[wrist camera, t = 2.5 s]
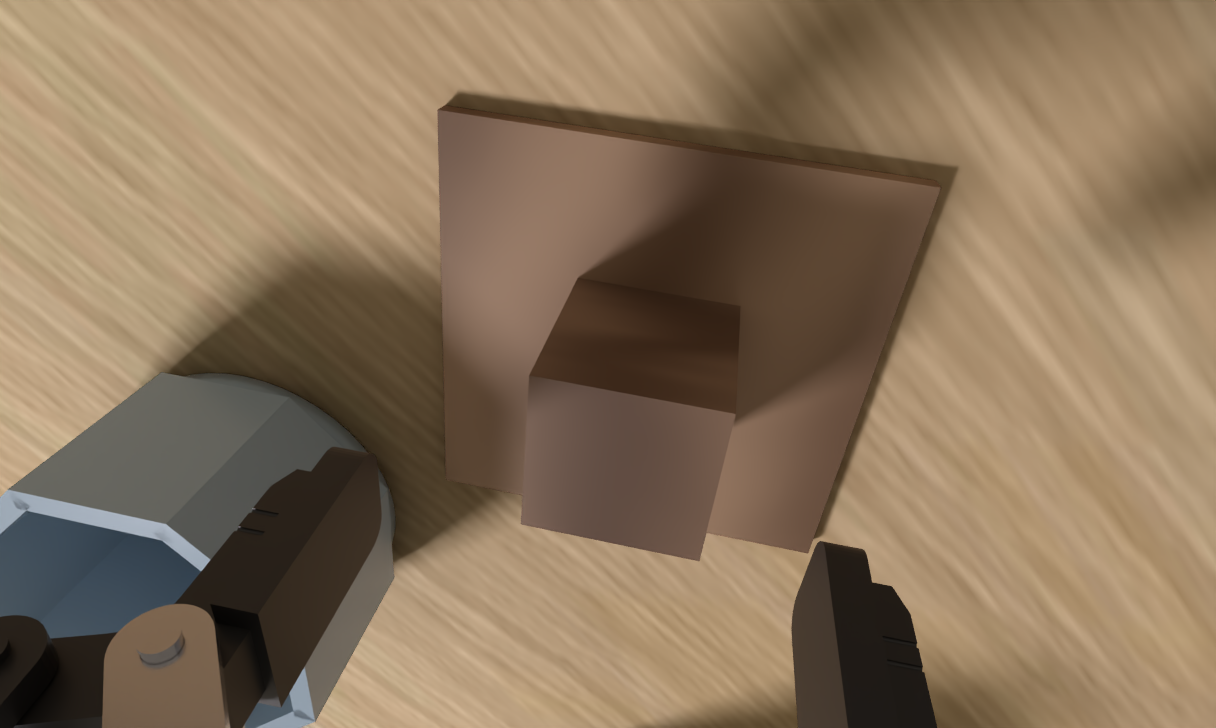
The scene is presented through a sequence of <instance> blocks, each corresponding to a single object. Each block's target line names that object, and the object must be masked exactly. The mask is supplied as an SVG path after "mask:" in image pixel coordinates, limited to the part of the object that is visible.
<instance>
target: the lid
mask: <svg viewBox="0 0 1216 728" xmlns="http://www.w3.org/2000/svg"><path fill="white" fill-rule="evenodd" d="M438 151H439V195H440V240H441V285H442V329H443V374H444V419H445V463H446V480H450V481H455V482H460V483H465V484H470V485H474V486H479V487H484V488H489V489H494V490H499V491H504V492H509V493H514V494H519V495H523V496H522V515H521V524H522V525H527V526H532V527H537V528H542V529H546V530H551V531H556V532H561V533H566V534H570V535H575V536H580V537H585V538H590V539H595V540H599V541H604V542H609V543H614V544H619V545H624V546H628V547H633V548H638V549H643V550H648V551H652V552H657V553H662V554H667V555H672V556H677V557H681V558H686V559H691V560H696V561H699V560H700V556H701V552H702V548H703V544H704V540H705V536H706V533H710V534H715V535H720V536H725V537H730V538H735V539H740V540H745V541H750V542H755V543H759V544H764V545H769V546H774V547H779V548H784V549H789V550H794V551H799V552H804V553H808V552H809V549H810V547H811V544H812V541H813V538H814V536H815V533H816V530H817V527H818V525H819V522H820V519H821V516H822V514H823V511H824V508H825V505H826V503H827V500H828V497H829V494H830V492H831V489H832V486H833V483H834V481H835V478H836V475H837V472H838V470H839V467H840V464H841V461H842V459H843V456H844V453H845V450H846V448H847V445H848V442H849V439H850V437H851V434H852V431H853V428H854V426H855V423H856V420H857V417H858V415H859V412H860V409H861V407H862V404H863V401H864V398H865V396H866V393H867V390H868V387H869V385H870V382H871V379H872V376H873V374H874V371H875V368H876V365H877V363H878V360H879V357H880V354H881V352H882V349H883V346H884V343H885V341H886V338H887V335H888V332H889V330H890V327H891V324H892V321H893V319H894V316H895V313H896V310H897V308H898V305H899V302H900V299H901V297H902V294H903V291H904V288H905V286H906V283H907V280H908V277H909V275H910V272H911V269H912V267H913V264H914V261H915V258H916V256H917V253H918V250H919V247H920V245H921V242H922V239H923V236H924V234H925V231H926V228H927V225H928V223H929V220H930V217H931V214H932V212H933V209H934V206H935V203H936V201H937V198H938V195H939V192H940V190H941V187H940V185H939V184H938V183H937V181H935V180H928V179H922V178H915V177H909V176H902V175H896V174H889V173H883V172H876V171H870V170H863V169H857V168H850V167H844V166H837V165H831V164H824V163H818V162H811V161H805V160H798V159H792V158H785V157H779V156H772V155H766V154H759V153H753V152H746V151H740V150H733V149H726V148H720V147H713V146H707V145H700V144H694V143H687V142H681V141H674V140H668V139H661V138H655V137H648V136H642V135H635V134H629V133H622V132H616V131H609V130H603V129H596V128H590V127H583V126H577V125H570V124H564V123H557V122H551V121H544V120H538V119H531V118H525V117H518V116H512V115H505V114H499V113H492V112H486V111H479V110H473V109H466V108H459V107H453V106H446V105H445V106H443V107H442V108H440V109H438Z"/></svg>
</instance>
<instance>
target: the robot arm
mask: <svg viewBox="0 0 1216 728" xmlns="http://www.w3.org/2000/svg"><path fill="white" fill-rule="evenodd" d="M381 520H382V510H381V499H380V487H379V476H378V465H377V459H376V457H375V455H374V454H371V453H366V452H360V451H355V450H350V449H345V448H339V447H331V448H330V449H328V450H327V451H326V452H325V454H324V455H323V456H322V458H321V459H320V460H319V462H318V463H317V464H316V466H315V467H314V468H313V469H312V471H311V472H310V471H305V470H300V469H296V470H295V471H293V472H292V473H290V474H289V475H287V476H286V477H284V478H282V479H281V480H279V481H278V482H276V483H275V484H273V485H272V486H270V487H269V489H268V490H267V491H266V492H265V494H264V495H263V496H262V497H261V499H260V500H259V501H258V502H257V503H256V505H255V506H254V507H253V510H252V512H251V513H248V515H247V516H246V517H245V518H244V519H243V521H242V522H241V523H240V524H239V526H238V529H237V531H234V532H233V533H232V534H231V535H230V537H229V538H228V539H227V540H226V542H225V543H224V544H223V545H222V546H221V548H220V549H219V550H218V551H217V553H216V554H215V555H214V556H213V558H212V559H211V560H210V561H209V562H208V564H207V565H206V566H205V567H204V569H203V570H202V571H201V572H200V574H199V575H198V576H197V577H196V578H195V580H194V581H193V582H192V583H191V585H190V586H189V587H188V588H187V589H186V591H185V592H184V593H183V594H182V596H181V597H180V598H179V599H178V600H177V601H176V602H175V603H174V604H172V605H166V606H162V607H158V608H155V609H152V610H150V611H148V612H145V613H143V614H141V615H139V616H138V617H136V618H134V619H133V620H132V621H130V622H129V623H128V624H126V625H125V626H124V627H123V628H122V629H121V630H120V631H119V632H115V633H107V634H96V635H85V636H73V637H62V638H50V636H49V635H48V633H47V631H46V629H45V627H44V625H43V624H42V623H41V622H39V621H38V620H36V619H34V618H32V617H28V616H21V615H10V616H2V617H0V728H245V723H246V721H247V720H248V718H249V716H250V715H251V713H252V711H253V710H254V708H255V706H256V705H257V703H262V704H266V705H271V706H275V707H280V708H281V707H282V705H283V704H284V702H285V700H286V698H287V697H288V695H289V693H290V691H291V690H292V688H293V686H294V684H295V683H296V681H297V679H298V677H299V676H300V674H301V672H302V671H303V669H304V667H305V665H306V664H307V662H308V660H309V658H310V657H311V655H312V653H313V651H314V650H315V648H316V646H317V644H318V643H319V641H320V639H321V638H322V636H323V634H324V632H325V631H326V629H327V627H328V625H329V624H330V622H331V620H332V618H333V617H334V615H335V613H336V611H337V610H338V608H339V606H340V605H341V603H342V601H343V599H344V598H345V596H346V594H347V592H348V591H349V589H350V587H351V585H352V584H353V582H354V580H355V578H356V577H357V575H358V573H359V571H360V570H361V568H362V566H363V565H364V563H365V561H366V559H367V558H368V556H369V554H370V552H371V551H372V549H373V547H374V545H375V543H376V540H377V537H378V534H379V531H380V526H381ZM916 645H917V640H916V636H915V632H914V628H913V623H912V619H911V615H910V613H909V611H908V610H907V608H906V607H905V605H904V604H903V602H902V601H901V599H900V598H899V596H898V595H897V593H896V592H895V590H894V589H893V587H892V586H887V585H882V584H877V583H872V580H871V574H870V569H869V564H868V559H867V555H866V553H865V551H864V550H863V549H859V548H853V547H848V546H843V545H838V544H833V543H827V542H822V541H820V542H818V544H817V545H816V547H815V549H814V552H813V555H812V557H811V560H810V563H809V565H808V568H807V570H806V573H805V576H804V578H803V581H802V583H801V586H800V589H799V591H798V594H797V597H796V600H795V604H794V609H793V616H792V646H793V660H794V675H795V690H796V704H797V719H798V728H937V724H936V720H935V716H934V712H933V708H932V703H931V699H930V695H929V691H928V687H927V682H926V678H925V674H924V672H922V667H923V665H922V661H921V657H920V653H919V649H918V648H917V647H916Z"/></svg>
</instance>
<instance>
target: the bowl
mask: <svg viewBox="0 0 1216 728" xmlns="http://www.w3.org/2000/svg"><path fill="white" fill-rule="evenodd" d="M331 447H339V448H345V449H350V450H355V451H360V452H366V453H367V451H366V450H365V449H364V447H363V446H362V445H361V444H360V443H359V442H358V441H357V440H356V439H355V438H354V437H353V436H352V435H351V434H350V433H349V432H348V431H347V430H346V429H345V428H344V427H343V426H342V425H340V424H339V423H338V422H337V421H336V420H335V419H333V418H332V417H331V416H329V415H328V414H326V413H325V412H324V411H322V410H321V409H319V408H318V407H317V406H315V405H313V404H311V403H310V402H308V401H306V400H305V399H303V398H301V397H299V396H297V395H295V394H293V393H291V392H289V391H287V390H285V389H283V388H280V387H278V386H275V385H272V384H269V383H266V382H264V381H261V380H257V379H253V378H249V377H245V376H239V375H232V374H225V373H203V374H194V375H188V376H185V377H183V376H178V375H173V374H168V373H163V372H161V373H160V374H159V375H157V376H156V377H155V378H153V379H152V380H151V381H149V382H148V383H147V384H146V385H144V386H143V387H142V388H140V389H139V390H138V391H136V392H135V393H134V394H132V395H131V396H130V397H128V398H127V399H126V400H125V401H123V402H122V403H121V404H119V405H118V406H117V407H115V408H114V409H113V410H111V411H110V412H109V413H108V414H106V415H105V416H104V417H102V418H101V419H100V420H98V421H97V422H96V423H94V424H93V425H92V426H90V427H89V428H88V429H87V430H85V431H84V432H83V433H81V434H80V435H79V436H77V437H76V438H75V439H73V440H72V441H71V442H70V443H68V444H67V445H66V446H64V447H63V448H62V449H60V450H59V451H58V452H56V453H55V454H54V455H52V456H51V457H50V458H49V459H47V460H46V461H45V462H43V463H42V464H41V465H39V466H38V467H37V468H35V469H34V470H33V471H31V472H30V473H29V474H28V475H26V476H25V477H24V478H22V479H21V480H20V481H18V482H17V483H16V484H14V485H13V486H12V487H11V488H9V489H8V490H7V491H6V492H5V493H4V494H3V495H2V496H1V497H0V617H2V616H10V615H21V616H28V617H32V618H34V619H36V620H38V621H39V622H41V623H42V624H43V625H44V627H45V629H46V631H47V633H48V635H49V636H50V638H62V637H73V636H85V635H96V634H107V633H115V632H119V631H120V630H121V629H122V628H123V627H124V626H125V625H126V624H128V623H129V622H130V621H132V620H133V619H134V618H136V617H138V616H139V615H141V614H143V613H145V612H148V611H150V610H152V609H155V608H158V607H162V606H166V605H172V604H174V603H175V602H176V601H177V600H178V599H179V598H180V597H181V596H182V594H183V593H184V592H185V591H186V589H187V588H188V587H189V586H190V585H191V583H192V582H193V581H194V580H195V578H196V577H197V576H198V575H199V574H200V572H201V571H202V570H203V569H204V567H205V566H206V565H207V564H208V562H209V561H210V560H211V559H212V558H213V556H214V555H215V554H216V553H217V551H218V550H219V549H220V548H221V546H222V545H223V544H224V543H225V542H226V540H227V539H228V538H229V537H230V535H231V534H232V533H233V532H234V531H237V529H238V526H239V524H240V523H241V522H242V521H243V519H244V518H245V517H246V516H247V515H248V513H251V512H252V510H253V507H254V506H255V505H256V503H257V502H258V501H259V500H260V499H261V497H262V496H263V495H264V494H265V492H266V491H267V490H268V489H269V487H270V486H272V485H273V484H275V483H276V482H278V481H279V480H281V479H282V478H284V477H286V476H287V475H289V474H290V473H292V472H293V471H295V470H296V469H300V470H305V471H310V472H311V471H312V469H313V468H314V467H315V466H316V464H317V463H318V462H319V460H320V459H321V458H322V456H323V455H324V454H325V452H326V451H327V450H328V449H330V448H331ZM378 476H379V487H380V499H381V510H382V520H381V526H380V531H379V534H378V537H377V540H376V543H375V545H374V547H373V549H372V551H371V552H370V554H369V556H368V558H367V559H366V561H365V563H364V565H363V566H362V568H361V570H360V571H359V573H358V575H357V577H356V578H355V580H354V582H353V584H352V585H351V587H350V589H349V591H348V592H347V594H346V596H345V598H344V599H343V601H342V603H341V605H340V606H339V608H338V610H337V611H336V613H335V615H334V617H333V618H332V620H331V622H330V624H329V625H328V627H327V629H326V631H325V632H324V634H323V636H322V638H321V639H320V641H319V643H318V644H317V646H316V648H315V650H314V651H313V653H312V655H311V657H310V658H309V660H308V662H307V664H306V665H305V667H304V669H303V671H302V672H301V674H300V676H299V677H298V679H297V681H296V683H295V684H294V686H293V688H292V690H291V691H290V693H289V695H288V697H287V698H286V700H285V702H284V704H283V705H282V707H281V708H280V707H275V706H271V705H266V704H262V703H257V705H256V706H255V708H254V710H253V711H252V713H251V715H250V716H249V718H248V720H247V721H246V723H245V728H301V727H303V726H305V725H308V724H310V723H313V722H315V721H316V719H317V718H318V716H319V714H320V712H321V710H322V708H323V707H324V705H325V703H326V701H327V699H328V697H329V696H330V694H331V692H332V690H333V688H334V687H335V685H336V683H337V681H338V679H339V677H340V676H341V674H342V672H343V670H344V668H345V666H346V665H347V663H348V661H349V659H350V657H351V655H352V654H353V652H354V650H355V648H356V646H357V645H358V643H359V641H360V639H361V637H362V635H363V634H364V632H365V630H366V628H367V626H368V624H369V623H370V621H371V619H372V617H373V615H374V614H375V612H376V610H377V608H378V606H379V604H380V603H381V601H382V599H383V597H384V595H385V593H386V592H387V590H388V588H389V586H390V584H391V583H392V581H393V579H394V567H393V554H392V542H393V538H394V534H395V521H396V516H395V510H394V503H393V500H392V497H391V494H390V490H389V488H388V486H387V483H386V481H385V479H384V477H383V475H382V473H381V472H380V470H379V468H378Z"/></svg>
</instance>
